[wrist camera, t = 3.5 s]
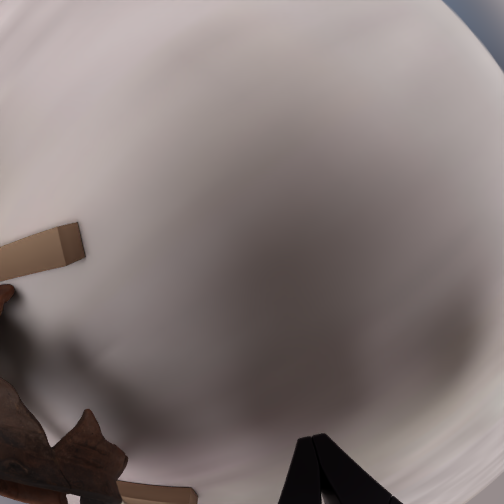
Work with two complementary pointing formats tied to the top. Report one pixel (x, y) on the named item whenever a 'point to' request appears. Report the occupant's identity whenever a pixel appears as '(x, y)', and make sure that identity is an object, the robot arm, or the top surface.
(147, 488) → the wooden u-shaped frame
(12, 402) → the brown broken pot
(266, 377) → the top surface
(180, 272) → the top surface
